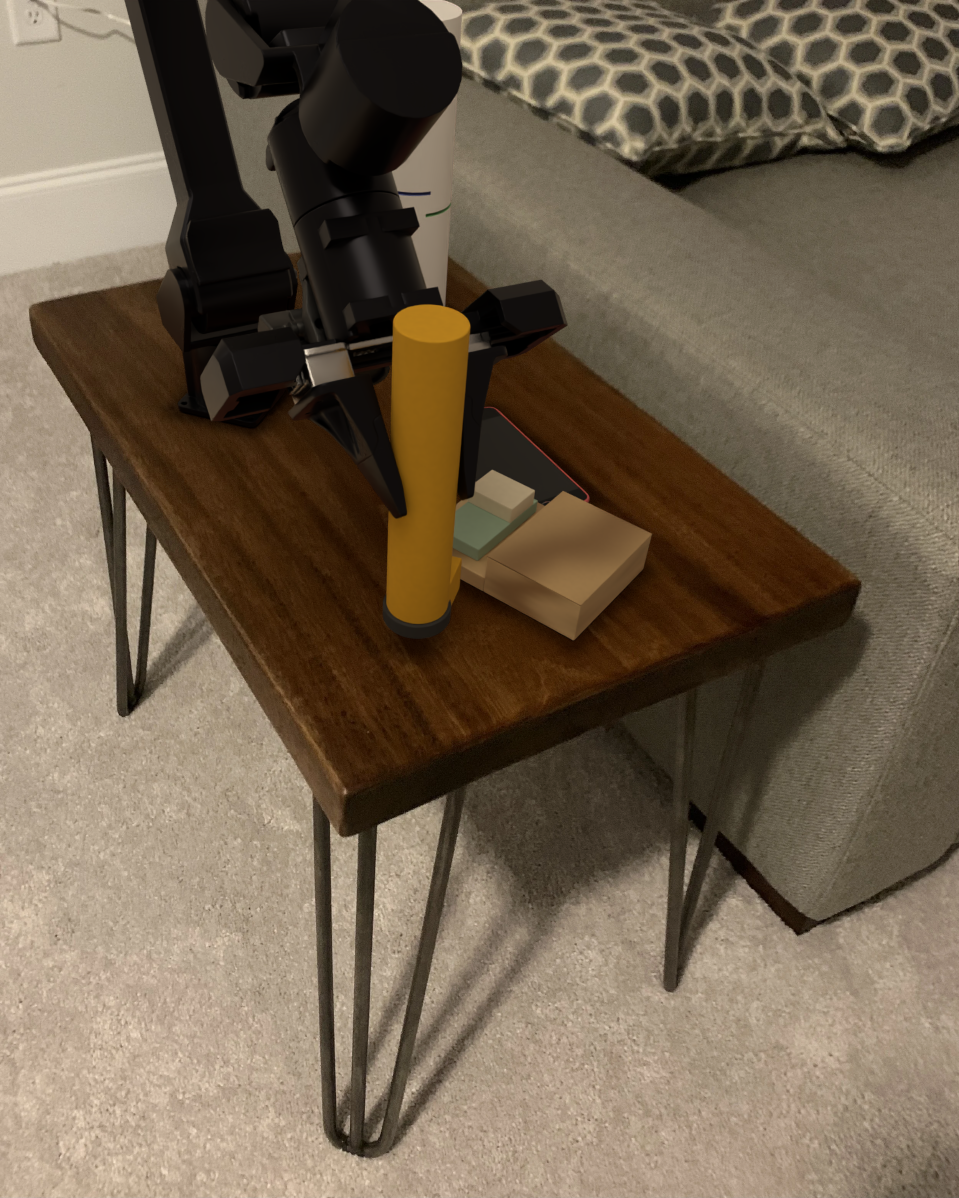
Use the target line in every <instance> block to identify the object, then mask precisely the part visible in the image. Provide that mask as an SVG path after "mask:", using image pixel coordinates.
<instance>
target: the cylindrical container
mask: <svg viewBox="0 0 959 1198" xmlns="http://www.w3.org/2000/svg"><path fill="white" fill-rule="evenodd" d="M419 1H420V2H421V3H423V4H424V5H425V6H427V7H428V8H430V9H431V10H432V11H433V12H434V13H435V14H436V15H437V17H438V18H439V19H440V20H441V21H442V22H443V23H444V25H445V26H446V28H447V30H448V31H449V32H451V33H452V34H453V35H454V36H455V38H456V40H457V43H458V46H459V48H460V49H461V40H462V25H463V24H462V22H463V9H462V8H461V7H460V6H458V5H457V4H455V3H454V2H450V1H447V0H419ZM457 106H458V93H457V94H456V96H455V97H454V99H453V101H452V102H451V104H450V105H449V106H448V107H447V109H446V110H445V111H444V113H443V114H442V115H441V116H440V118H439V119H438V120H437V122H436V123H435V124H434V125H433V127H432V128H431V129H430V131H429V132H428V133H427V134H426V136H425V137H424V138H423V140H422V141H421V142H420V143H419V145H418V146H417V147H416V149H415V150H414V151H413V152H412V154H411V155H410V156H409V158H408V159H407V160H406V161H405V162H404V163H403V164H402V165H401V166H400V167H398V168H397V169H396V170H394V171H392V174H393V177H394V180H395V184H396V187H397V191H398V194H399V197H400V200H401V203H402V207H403V208H410V207H414V208H415V211H416V215H417V218H418V222H419V225H420V227H419V228H418V229H417V230H416V231H415V233H414V234H413V235H412V236H411V237H412V240H413V244H414V247H415V250H416V254H417V257H418V260H419V264H420V267H421V271H422V274H423V277H424V281H425V284H426V287H427V288H432V287H438V289H439V292H440V296H441V299H442V302H443V306H444V307H446V299H447V297H446V296H447V282H448V281H447V279H448V262H449V244H450V229H451V213H452V198H453V197H452V195H453V178H454V177H453V176H454V162H455V161H454V159H455V142H456V125H457V111H458V110H457V108H458V107H457Z"/></svg>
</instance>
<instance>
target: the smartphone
mask: <svg viewBox="0 0 959 1198" xmlns="http://www.w3.org/2000/svg"><path fill="white" fill-rule="evenodd" d="M491 470H494V471H496V472H498V473H500V474H502V475H504V476H506V477H508V478H510V479H512V480H514V481H516V482H519V483H521V484H523V485H525V486H527V487H529V488H531V489H533V490H535V494H534V499H536V500H537V501H538V503H540V504H542V505H544V506H546V505H547V504H548V503H550V502H551V501H552V500H553V499H554V498H555V497H557V496H558V495H559V494H560V493H561V492H562V491H564V492H566V493H568V494H570V495H573V496H575V497H577V498H579V499H581V500H583V501H585V502H587V503H589V502H590V495H589V494H588V493H587V491H585V489H584V488H582V487H581V486H580V485H579V484H578V483H577V482H576V481H575V480H574V479H573V478H572V477H570V476H569V475H568V473H566V472H565V471H564V470H563V469H562V468H561V466H559V465H558V464H557V463H556V462H554V460H553V459H552V458H550V456H548V455H547V454H546V453H545V452H544V451H543V450H542V449H540V447H539V446H537V444H535V443H534V442H533V440H531V439H530V438H529V437H528V436H527V435H525V433H524V432H523V431H521V430H520V429H519V428H518V427H517V426H516V425H515V424H514V423H513V422H512V421H511V420H510V419H508V417H506V416H505V415H504V414H503V413H502V412H501V411H500V410H499V409H497V408H496V407H493V406H484V411H483V417H482V426H481V434H480V444H479V453H478V463H477V472H476V482H477V481H478V480H479V479H481V478H482V477H483V476H485V475H486V474H487V473H489V472H490V471H491Z"/></svg>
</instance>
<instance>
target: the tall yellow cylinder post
mask: <svg viewBox="0 0 959 1198" xmlns="http://www.w3.org/2000/svg"><path fill="white" fill-rule="evenodd" d="M460 312H461V311H458V310H457V309H454V308H451V307H448V306H445V307H444V306H439V305H416V306H411V307H408V308H405V309H403V310H401V311H400V312H399V313H397V314H396V316H395V317H394V320H393V349H392V365H391V389H390V390H391V391H390V392H391V393H390V395H391V397H390V430H389V431H390V435H389V440H390V444H391V447H392V450H393V454H394V457H395V461H396V464H397V467H398V471H399V474H400V477H401V481H402V485H403V490H404V496H405V502H406V508H407V515H406V516H404V517H402V518H399V519H395V518H394V517H393V516H392V514H391V513H390V512H389V511H388V513H387V514H388V517H387V518H388V519H387V525H388V526H387V559H386V561H387V562H386V592H385V595H384V597H383V599H382V619H383V622H384V624H385V625H386V627H387V628H388V629H389V630H390V631H392V632H393V633H395V634H396V635H398V636H401V637H403V638H408V639H412V640H413V639H414V640H415V639H416V640H422V639H423V640H424V639H429V638H432V637H435V636H437V635H440V633H442V632H443V631H445V629H446V628H447V627H448V625H449V624H450V621H451V616H452V605H453V604H454V601H455V599H456V596H457V594H458V592H459V590H460V585H461V579H460V576H461V564H462V558H458V557H454V556H452V549H453V537H454V524H455V512H456V504H457V497H458V493H457V487H458V474H459V462H460V450H461V437H462V425H463V412H464V400H465V387H466V375H467V362H468V350H469V337H470V323H469V321H468V319H467V318H466V317H465V316H464V315H463V314H462V313H460Z"/></svg>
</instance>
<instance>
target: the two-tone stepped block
mask: <svg viewBox="0 0 959 1198" xmlns="http://www.w3.org/2000/svg"><path fill="white" fill-rule="evenodd" d="M534 494H535V490H533V489H531V488H529V487H527V486H525V485H523V484H521V483H519V482H516V481H514V480H512V479H510V478H508V477H506V476H504V475H502V474H500V473H498V472H496V471H494V470H491V471H490V472H489V473H487V474H486V475H485V476H483V477H482V478H481V479H479V480H478V481H477V482H475V491H474V496H473V497H472V498H470V499H468V502H467V503H465V504H464V505H463V506H462V507H460V508H459V509H458V510H456V512H455V524H454V537H453V548H454V549H456V550H458V551H460V552H462V553H463V554H465V555H467V556H469V557H471V558H473V559H475V560H477V561H478V560H479V559H481V558H482V557H483V556H484V555H485V554H487V553H488V552H489V551H490V550H491V549H492V548H494V547H495V546H496V545H497V544H498V543H500V542H501V541H502V540H503V539H504V538H505V537H507V536H508V535H509V534H510V533H511V532H513V531H514V530H515V529H516V528H517V527H518V526H520V525H521V524H522V523H523V522H524V521H526V520H527V519H528V518H529V517H530V516H531V515H533V514H534V513H535V512H536V509H537V502H538V501H537V500H536V499H534Z"/></svg>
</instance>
